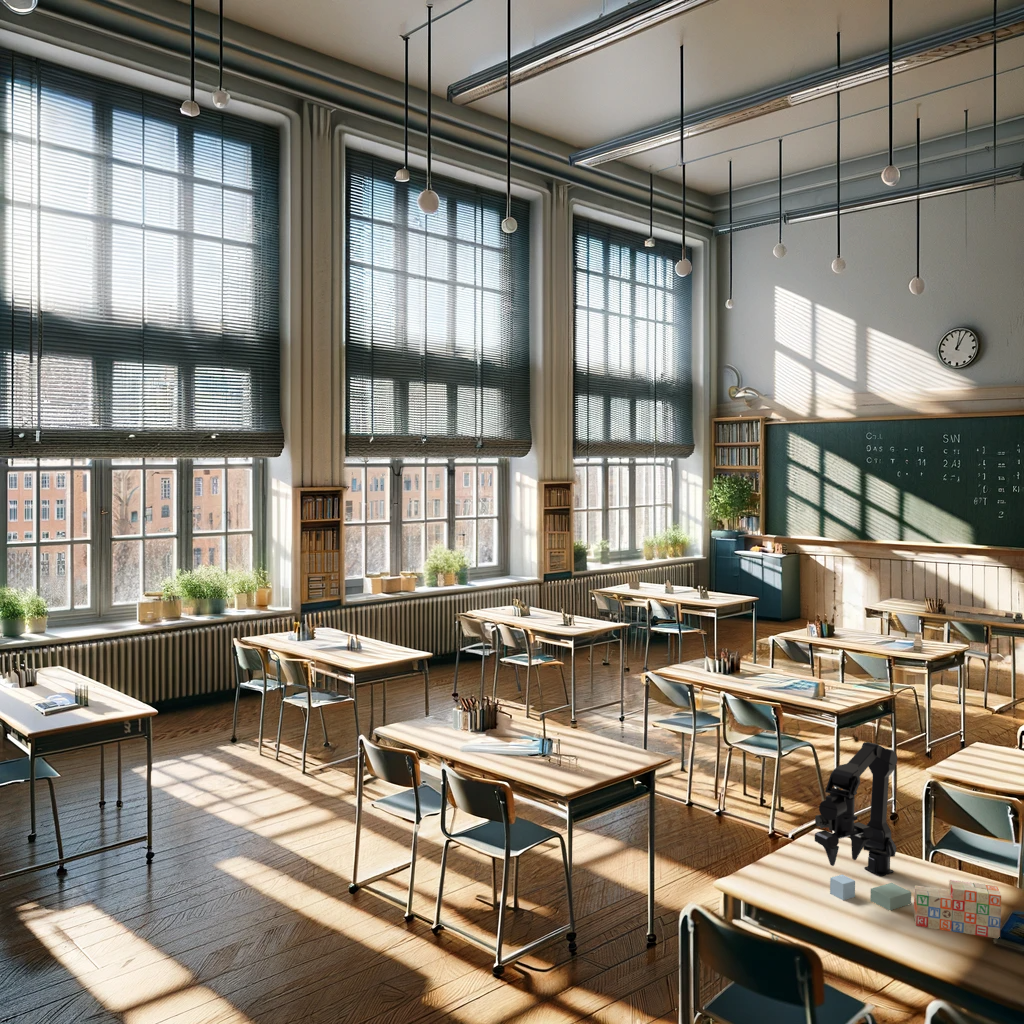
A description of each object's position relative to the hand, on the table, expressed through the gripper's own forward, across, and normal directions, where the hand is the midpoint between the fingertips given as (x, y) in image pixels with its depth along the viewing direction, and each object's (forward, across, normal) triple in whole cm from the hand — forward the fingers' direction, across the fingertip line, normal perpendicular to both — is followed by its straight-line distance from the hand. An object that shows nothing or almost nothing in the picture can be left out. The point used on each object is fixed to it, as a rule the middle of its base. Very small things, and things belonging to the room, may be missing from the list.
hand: (843, 862), depth 279 cm
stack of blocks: (+10, -13, +29) cm, 33 cm away
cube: (+10, 0, 0) cm, 10 cm away
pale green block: (+10, -9, +10) cm, 17 cm away
